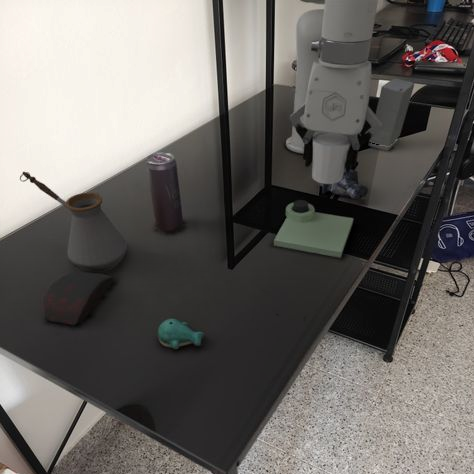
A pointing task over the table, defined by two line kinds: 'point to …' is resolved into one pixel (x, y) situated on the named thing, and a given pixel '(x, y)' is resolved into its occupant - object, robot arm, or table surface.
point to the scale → (314, 232)
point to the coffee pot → (89, 231)
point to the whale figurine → (178, 334)
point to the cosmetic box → (392, 112)
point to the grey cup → (329, 157)
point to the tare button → (300, 206)
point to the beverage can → (165, 191)
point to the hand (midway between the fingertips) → (328, 165)
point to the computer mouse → (75, 296)
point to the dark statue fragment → (347, 186)
